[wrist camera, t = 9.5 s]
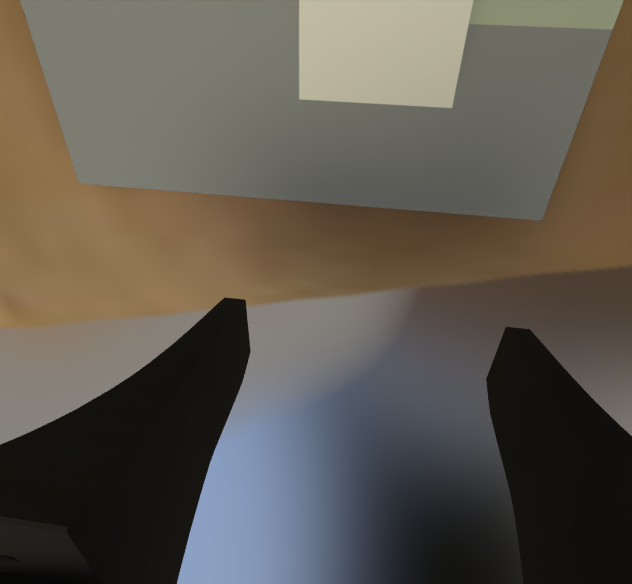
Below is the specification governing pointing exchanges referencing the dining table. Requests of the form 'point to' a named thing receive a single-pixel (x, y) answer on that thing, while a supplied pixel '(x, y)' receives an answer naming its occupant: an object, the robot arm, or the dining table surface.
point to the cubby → (325, 97)
